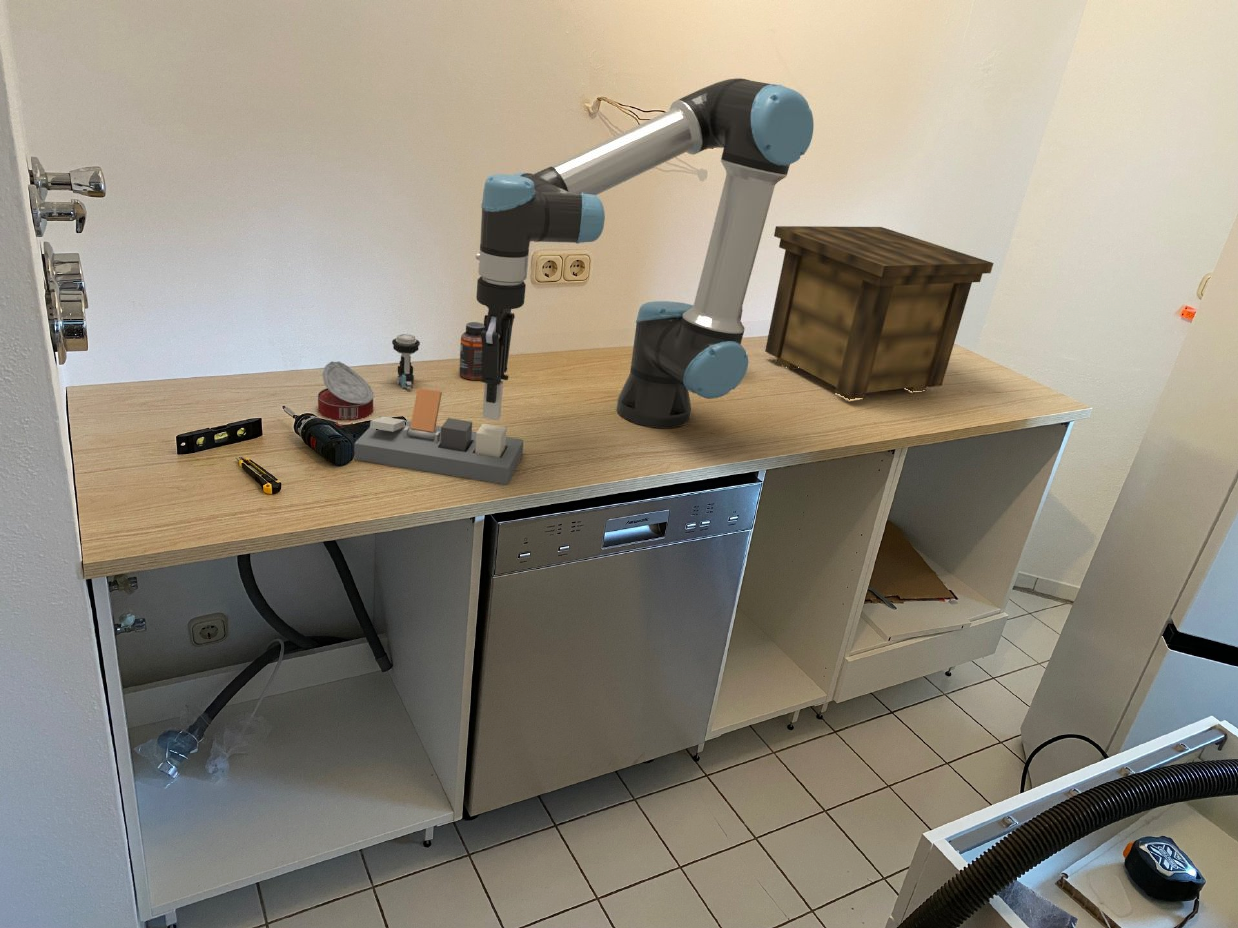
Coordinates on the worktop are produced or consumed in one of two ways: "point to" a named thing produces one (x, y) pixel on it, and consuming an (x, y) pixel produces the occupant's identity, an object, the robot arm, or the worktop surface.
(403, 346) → the push button
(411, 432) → the paddle lever
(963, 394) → the worktop surface
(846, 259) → the crate
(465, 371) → the supplement bottle
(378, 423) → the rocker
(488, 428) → the ivory button
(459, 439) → the dark gray button
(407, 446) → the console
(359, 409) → the canned food
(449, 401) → the worktop surface
